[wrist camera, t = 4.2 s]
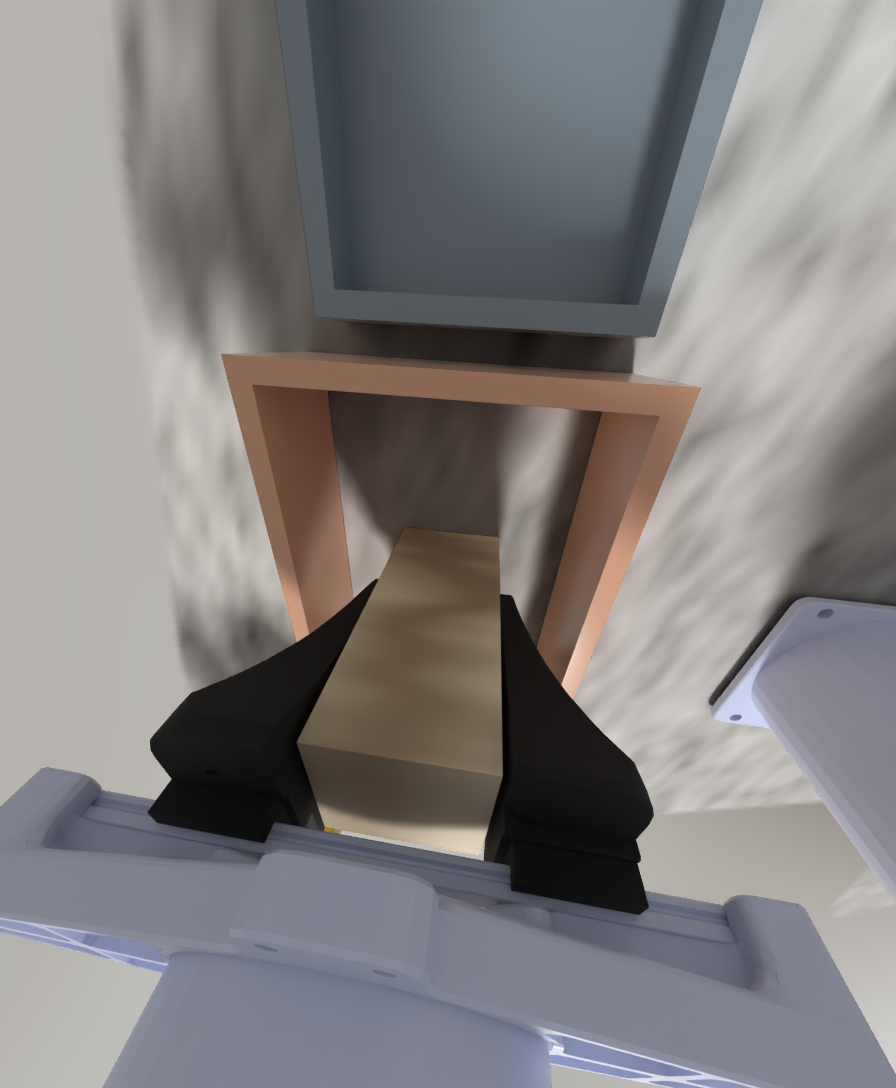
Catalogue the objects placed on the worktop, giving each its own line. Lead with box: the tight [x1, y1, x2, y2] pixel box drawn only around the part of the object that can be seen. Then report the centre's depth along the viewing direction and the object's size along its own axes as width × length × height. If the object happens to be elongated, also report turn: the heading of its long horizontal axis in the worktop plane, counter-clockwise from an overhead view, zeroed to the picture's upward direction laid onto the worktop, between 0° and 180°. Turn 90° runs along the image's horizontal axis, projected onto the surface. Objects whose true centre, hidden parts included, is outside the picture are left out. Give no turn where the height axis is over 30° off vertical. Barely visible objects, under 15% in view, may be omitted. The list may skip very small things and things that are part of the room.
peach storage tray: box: [221, 351, 701, 699], centre depth 13 cm, size 11×17×4 cm, turn 177°
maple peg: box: [296, 527, 503, 855], centre depth 11 cm, size 4×4×9 cm
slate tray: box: [275, 0, 763, 339], centre depth 7 cm, size 9×9×2 cm
